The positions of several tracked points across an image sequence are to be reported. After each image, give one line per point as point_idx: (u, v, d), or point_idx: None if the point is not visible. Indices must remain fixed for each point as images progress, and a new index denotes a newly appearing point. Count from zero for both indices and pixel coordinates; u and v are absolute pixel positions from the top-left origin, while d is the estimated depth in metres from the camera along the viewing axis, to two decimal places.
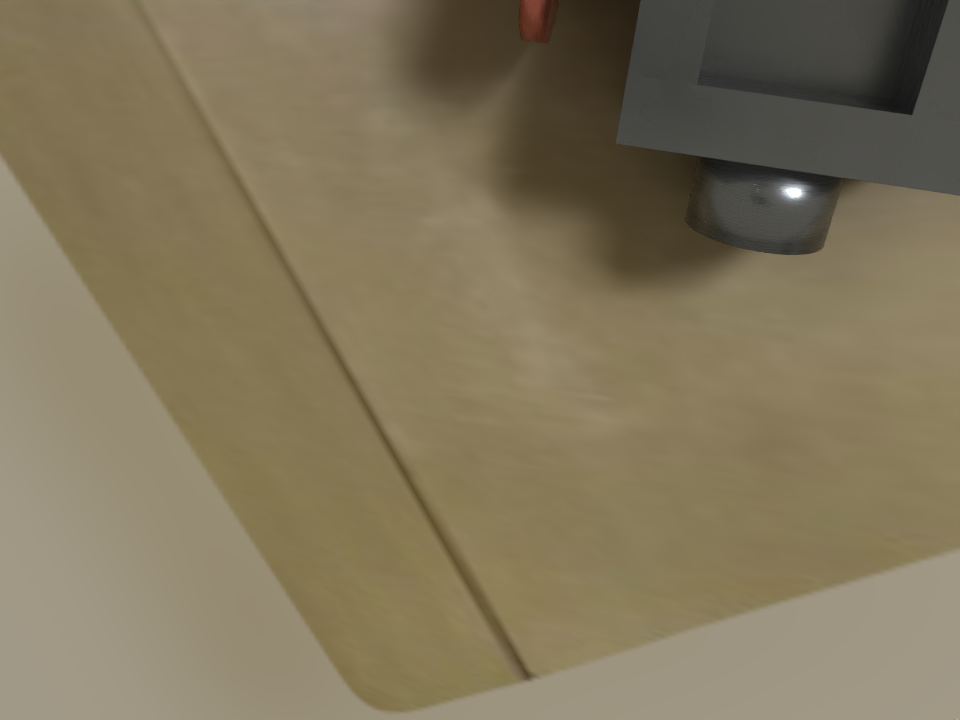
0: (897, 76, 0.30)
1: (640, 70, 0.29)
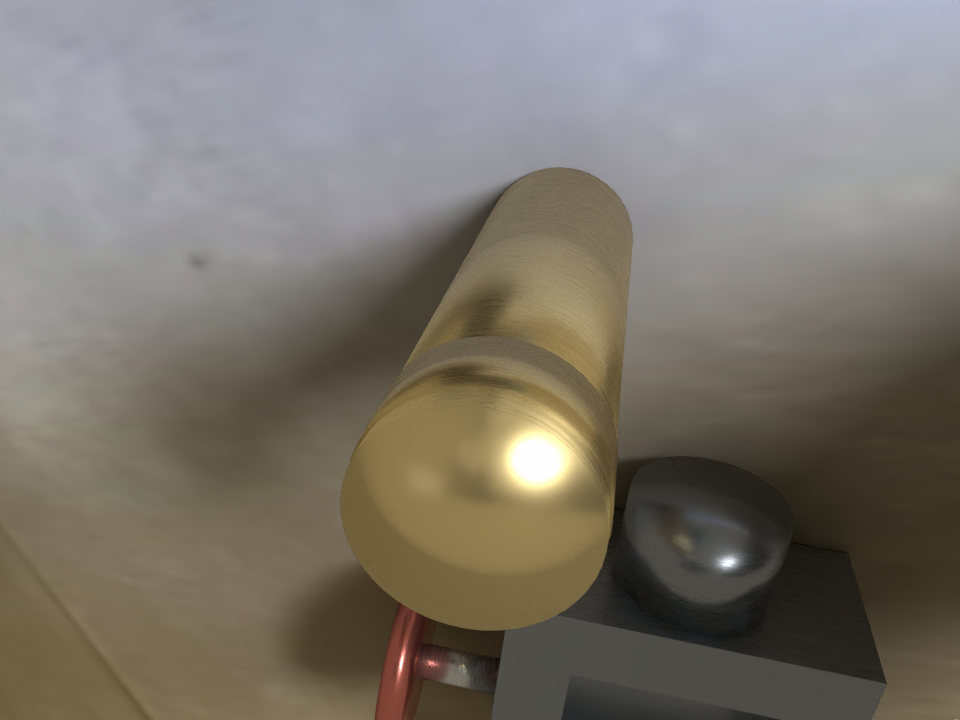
0: None
1: None
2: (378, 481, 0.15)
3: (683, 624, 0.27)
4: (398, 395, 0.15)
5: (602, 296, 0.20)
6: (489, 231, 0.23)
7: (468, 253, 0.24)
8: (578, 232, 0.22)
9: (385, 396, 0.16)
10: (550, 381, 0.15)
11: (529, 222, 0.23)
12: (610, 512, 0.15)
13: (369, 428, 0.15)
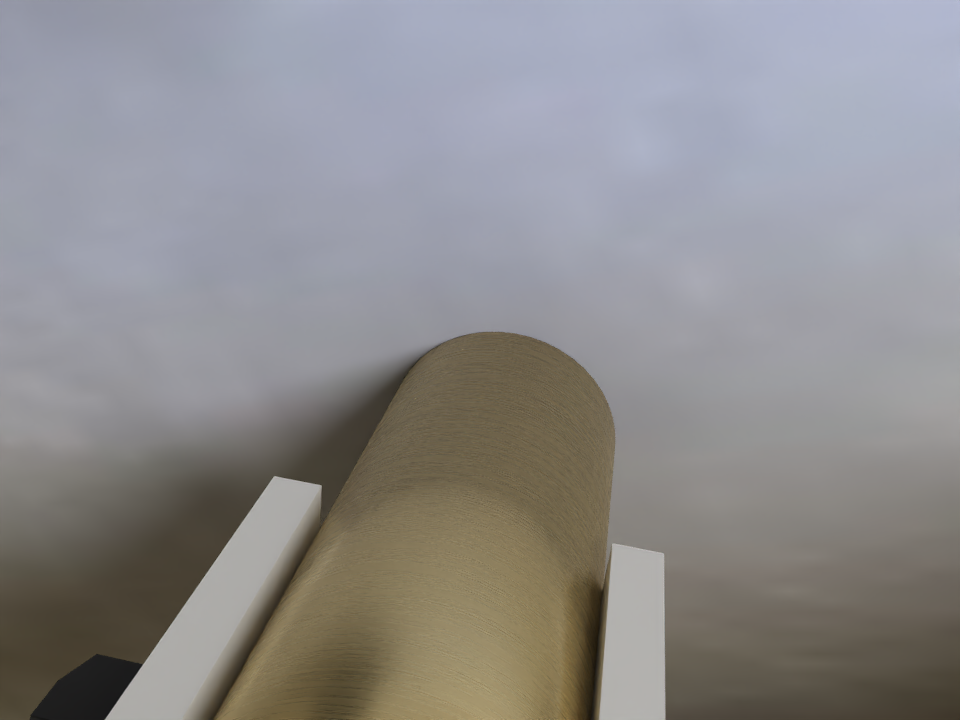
0: None
1: None
2: None
3: None
4: None
5: (541, 703, 0.10)
6: (356, 492, 0.13)
7: (321, 526, 0.13)
8: (508, 514, 0.12)
9: None
10: None
11: (421, 492, 0.12)
12: None
13: None
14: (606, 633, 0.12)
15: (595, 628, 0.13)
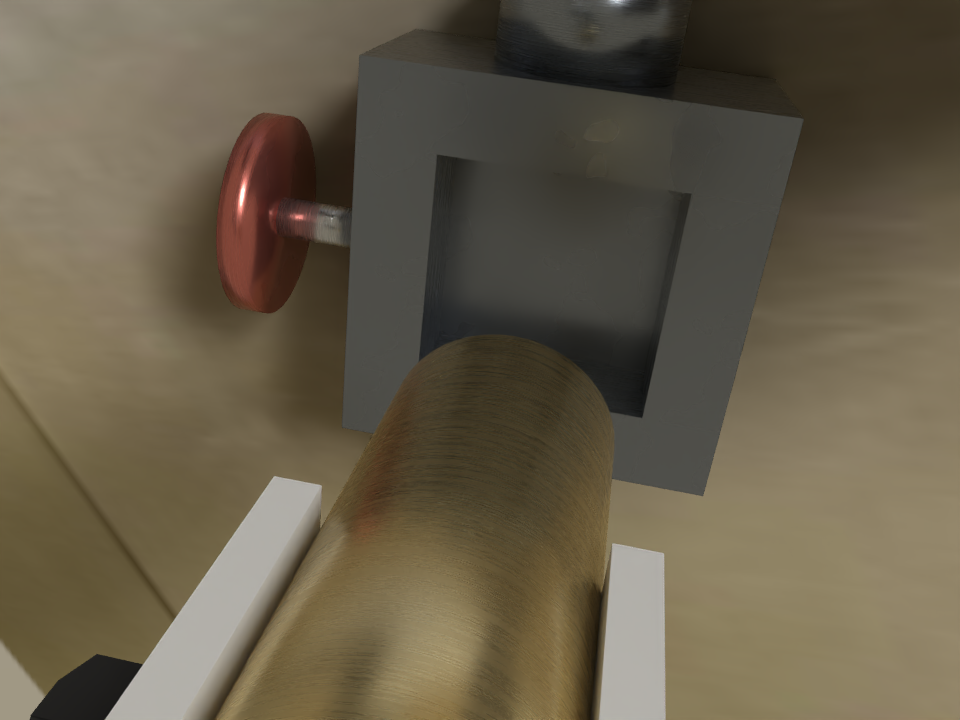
0: (648, 351, 0.28)
1: (357, 360, 0.27)
2: None
3: (565, 73, 0.23)
4: None
5: (540, 709, 0.10)
6: (355, 495, 0.13)
7: (320, 530, 0.13)
8: (506, 519, 0.12)
9: None
10: None
11: (419, 497, 0.12)
12: None
13: None
14: (606, 633, 0.12)
15: (594, 632, 0.13)
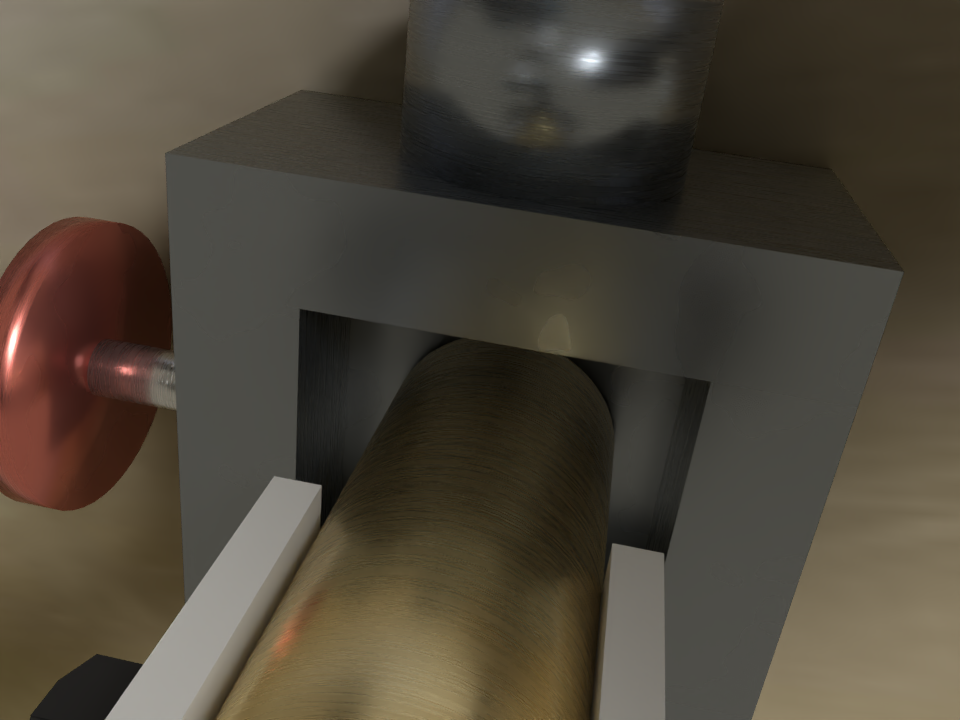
0: None
1: None
2: None
3: (503, 184, 0.14)
4: None
5: (540, 709, 0.10)
6: (355, 495, 0.13)
7: (320, 530, 0.13)
8: (506, 518, 0.12)
9: None
10: None
11: (419, 497, 0.12)
12: None
13: None
14: (606, 633, 0.12)
15: (594, 632, 0.13)
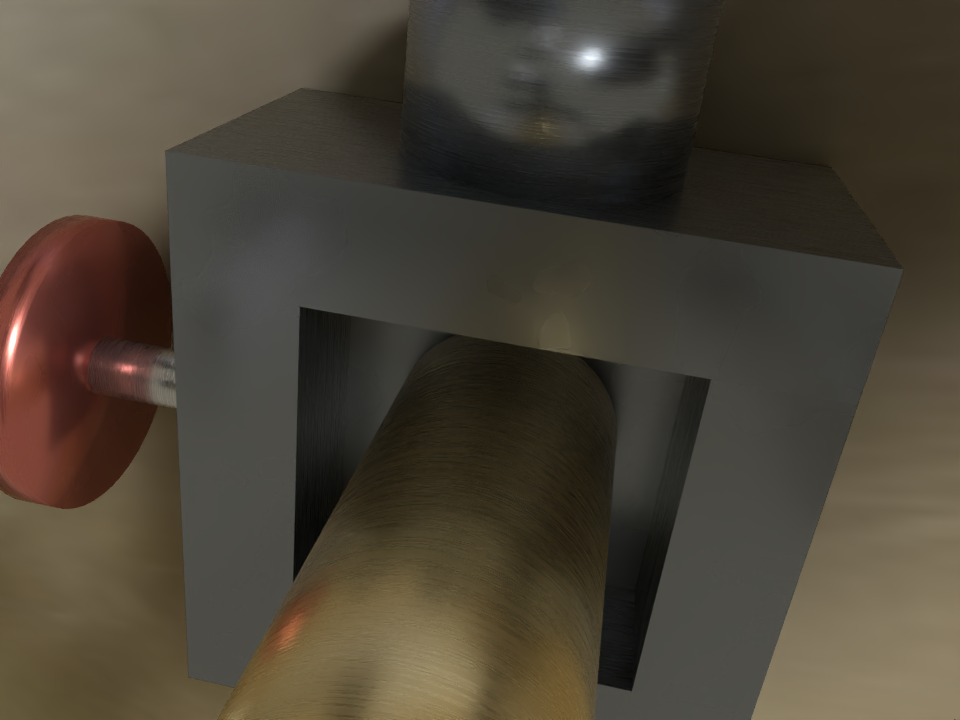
0: (641, 561, 0.19)
1: (203, 591, 0.18)
2: None
3: (503, 182, 0.14)
4: None
5: (547, 685, 0.10)
6: (364, 482, 0.14)
7: (330, 517, 0.14)
8: (513, 503, 0.13)
9: None
10: None
11: (428, 482, 0.13)
12: None
13: None
14: None
15: (598, 615, 0.13)
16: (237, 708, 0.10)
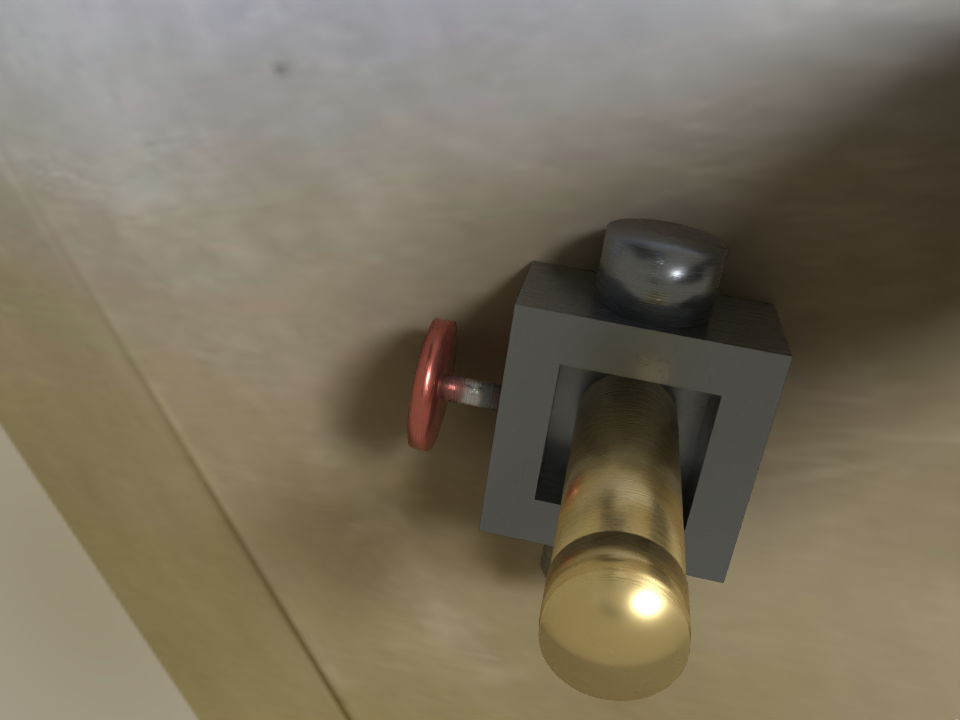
0: (686, 481, 0.42)
1: (494, 487, 0.40)
2: (562, 617, 0.27)
3: (644, 319, 0.36)
4: (572, 568, 0.28)
5: (671, 489, 0.33)
6: (591, 431, 0.36)
7: (577, 445, 0.36)
8: (651, 438, 0.35)
9: (558, 564, 0.29)
10: (656, 561, 0.28)
11: (620, 430, 0.35)
12: (689, 636, 0.27)
13: (557, 587, 0.28)
14: None
15: None
16: (579, 490, 0.32)
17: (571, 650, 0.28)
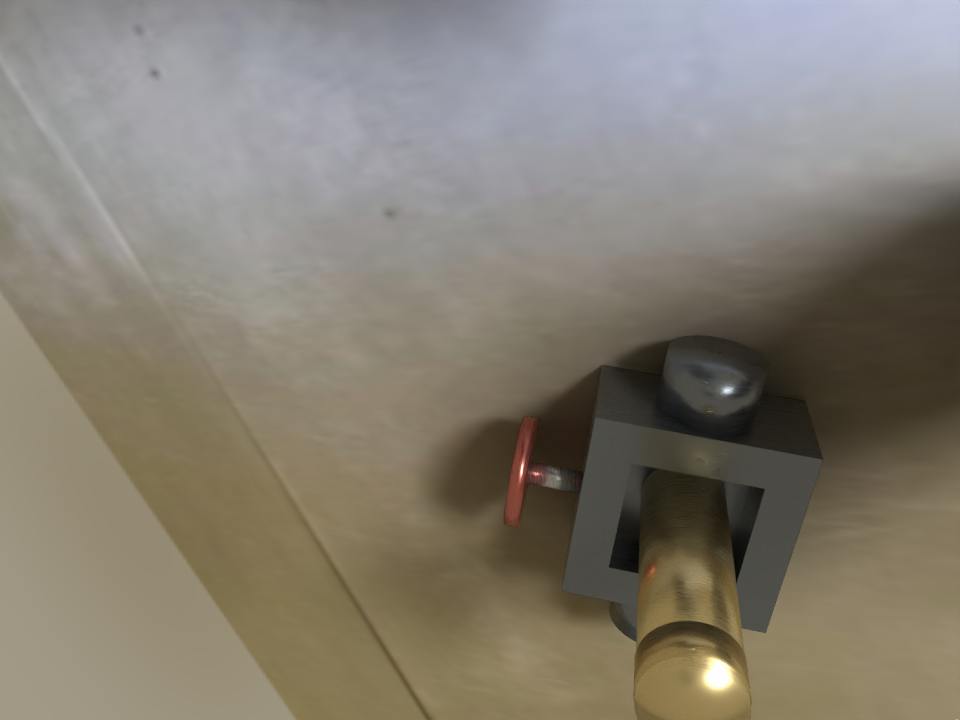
0: (732, 547, 0.50)
1: (575, 557, 0.49)
2: (653, 691, 0.36)
3: (701, 428, 0.45)
4: (659, 653, 0.36)
5: (728, 575, 0.41)
6: (660, 521, 0.44)
7: (648, 531, 0.45)
8: (709, 528, 0.43)
9: (647, 647, 0.37)
10: (723, 646, 0.36)
11: (684, 522, 0.44)
12: (750, 704, 0.36)
13: (648, 668, 0.36)
14: None
15: (733, 561, 0.44)
16: (656, 579, 0.41)
17: (659, 714, 0.36)
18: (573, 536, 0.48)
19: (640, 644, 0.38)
